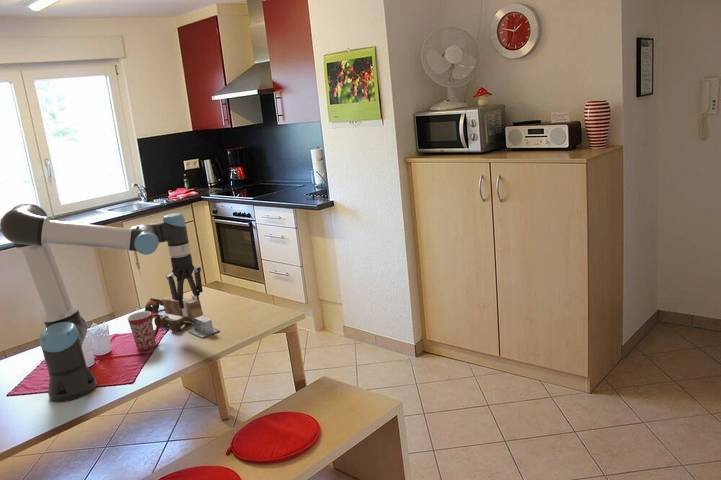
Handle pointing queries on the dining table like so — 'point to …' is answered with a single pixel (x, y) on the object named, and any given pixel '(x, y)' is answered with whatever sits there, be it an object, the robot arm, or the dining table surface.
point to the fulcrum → (202, 327)
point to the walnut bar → (174, 309)
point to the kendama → (173, 322)
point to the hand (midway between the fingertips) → (191, 313)
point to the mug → (144, 329)
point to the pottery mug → (153, 305)
